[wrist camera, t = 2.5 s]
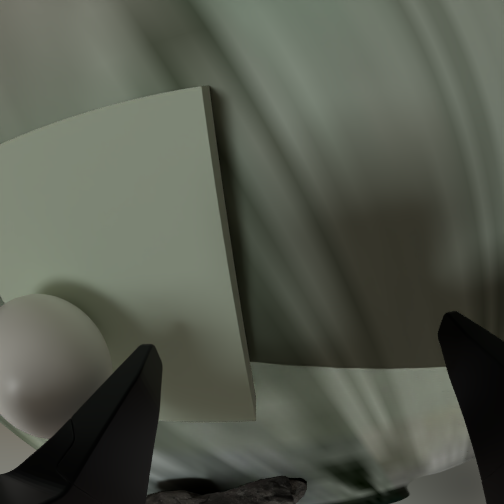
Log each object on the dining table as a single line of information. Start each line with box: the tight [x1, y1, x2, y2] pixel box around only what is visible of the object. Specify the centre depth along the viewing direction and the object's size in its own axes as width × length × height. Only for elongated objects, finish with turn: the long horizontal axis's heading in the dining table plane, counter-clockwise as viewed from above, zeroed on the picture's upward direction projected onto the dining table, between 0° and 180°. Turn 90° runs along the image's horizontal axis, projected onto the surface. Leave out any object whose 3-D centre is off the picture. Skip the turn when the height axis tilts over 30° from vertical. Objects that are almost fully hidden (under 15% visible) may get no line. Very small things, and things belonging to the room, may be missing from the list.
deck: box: [0, 86, 256, 422], centre depth 12 cm, size 18×14×2 cm
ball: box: [0, 294, 113, 439], centre depth 9 cm, size 5×5×5 cm
